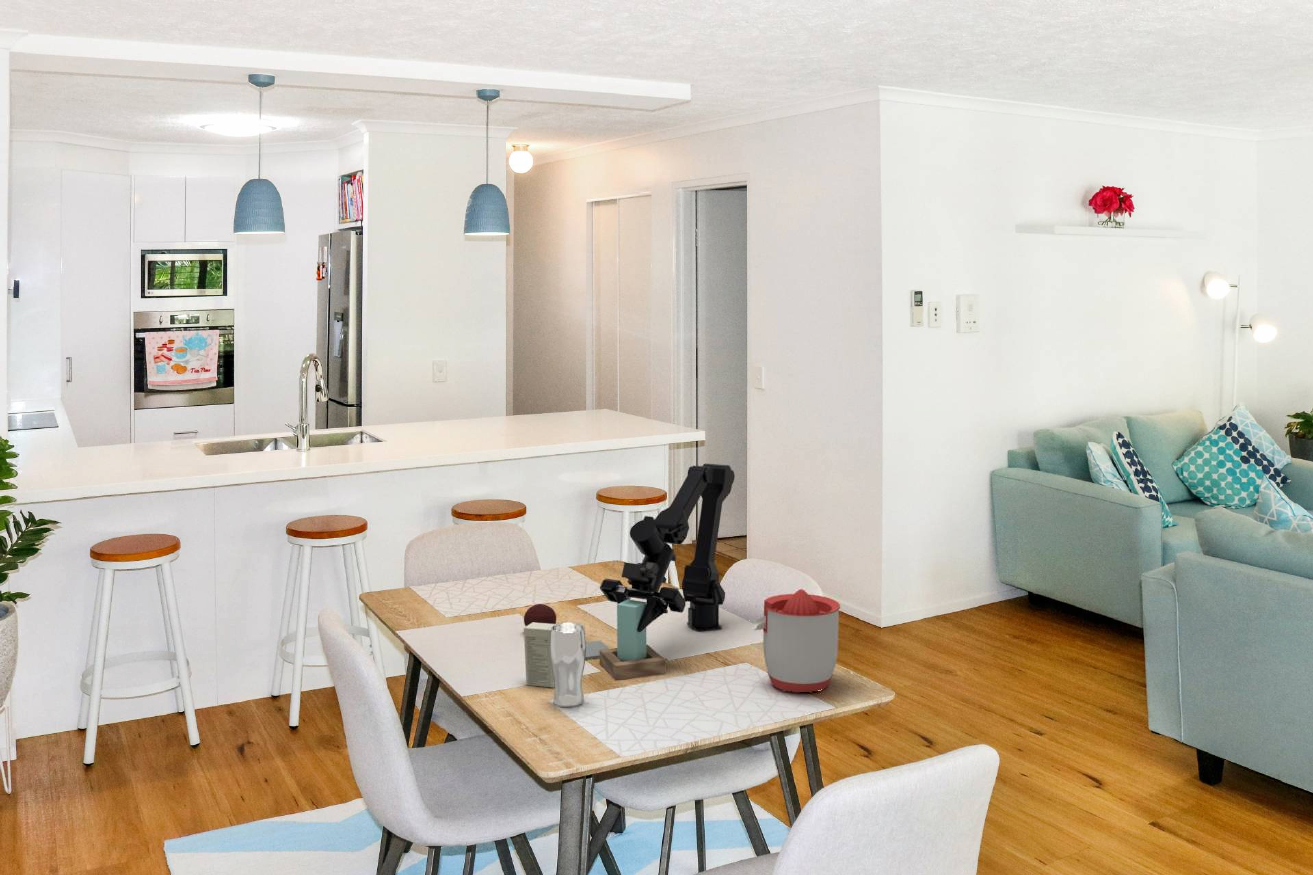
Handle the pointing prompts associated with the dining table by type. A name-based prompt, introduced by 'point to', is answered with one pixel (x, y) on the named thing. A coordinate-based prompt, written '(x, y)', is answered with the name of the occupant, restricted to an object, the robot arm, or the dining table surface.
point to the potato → (540, 615)
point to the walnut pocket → (632, 664)
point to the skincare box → (538, 655)
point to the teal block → (630, 631)
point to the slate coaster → (594, 649)
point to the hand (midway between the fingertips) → (628, 629)
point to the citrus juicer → (800, 640)
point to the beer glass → (568, 663)
